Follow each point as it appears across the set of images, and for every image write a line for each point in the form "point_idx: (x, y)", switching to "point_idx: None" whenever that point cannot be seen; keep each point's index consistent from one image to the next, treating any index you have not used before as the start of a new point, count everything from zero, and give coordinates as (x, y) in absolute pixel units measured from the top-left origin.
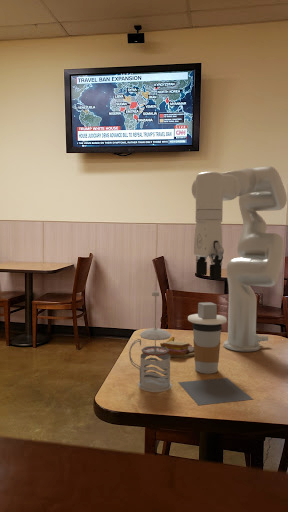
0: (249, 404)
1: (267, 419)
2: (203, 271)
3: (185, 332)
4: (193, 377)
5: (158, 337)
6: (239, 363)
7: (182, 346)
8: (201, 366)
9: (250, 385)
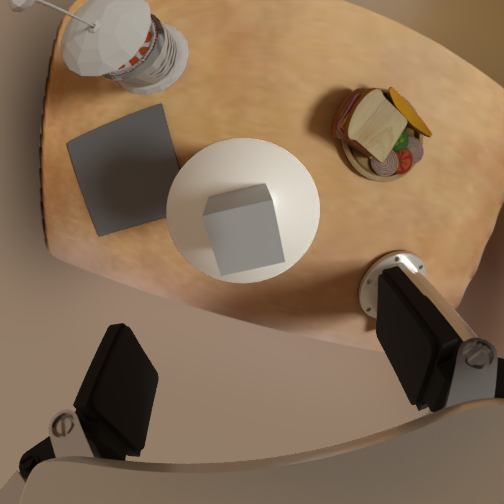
0: (89, 226)
1: (53, 239)
2: (388, 331)
3: (494, 192)
4: (202, 139)
5: (62, 48)
6: None
7: (345, 134)
8: None
9: (165, 247)
